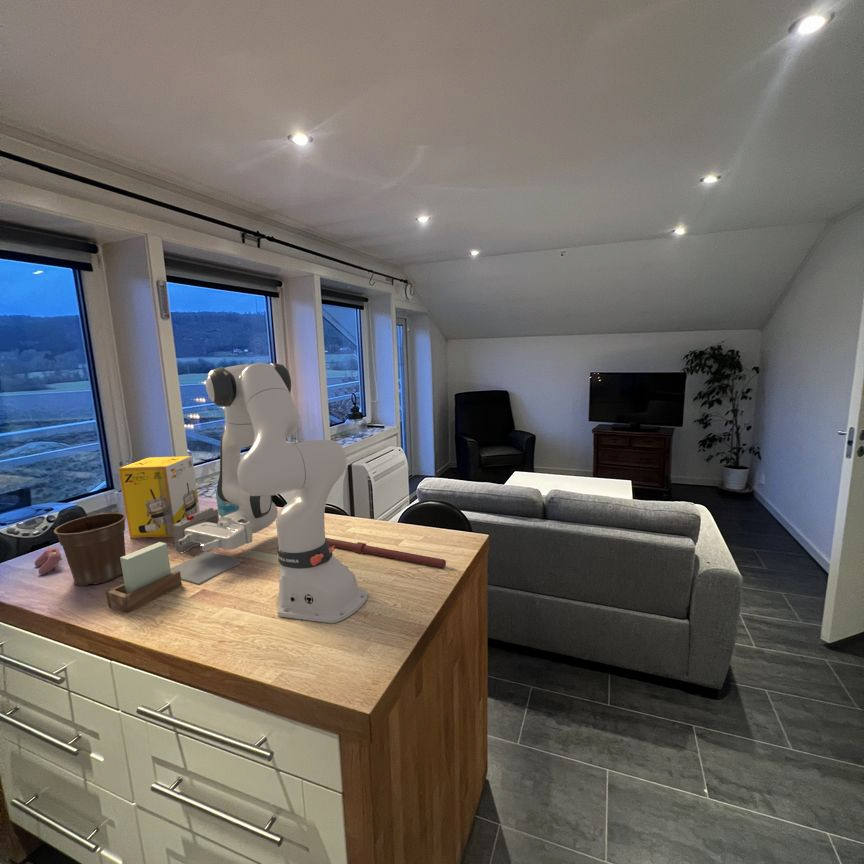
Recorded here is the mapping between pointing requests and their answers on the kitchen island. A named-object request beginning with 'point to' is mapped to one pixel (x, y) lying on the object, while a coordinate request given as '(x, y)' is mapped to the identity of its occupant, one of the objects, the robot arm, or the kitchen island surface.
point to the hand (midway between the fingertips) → (190, 545)
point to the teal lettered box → (225, 506)
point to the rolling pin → (387, 553)
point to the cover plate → (145, 566)
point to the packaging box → (158, 494)
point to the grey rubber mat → (205, 567)
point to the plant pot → (94, 547)
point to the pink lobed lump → (48, 560)
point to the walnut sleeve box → (142, 593)
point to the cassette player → (192, 520)
